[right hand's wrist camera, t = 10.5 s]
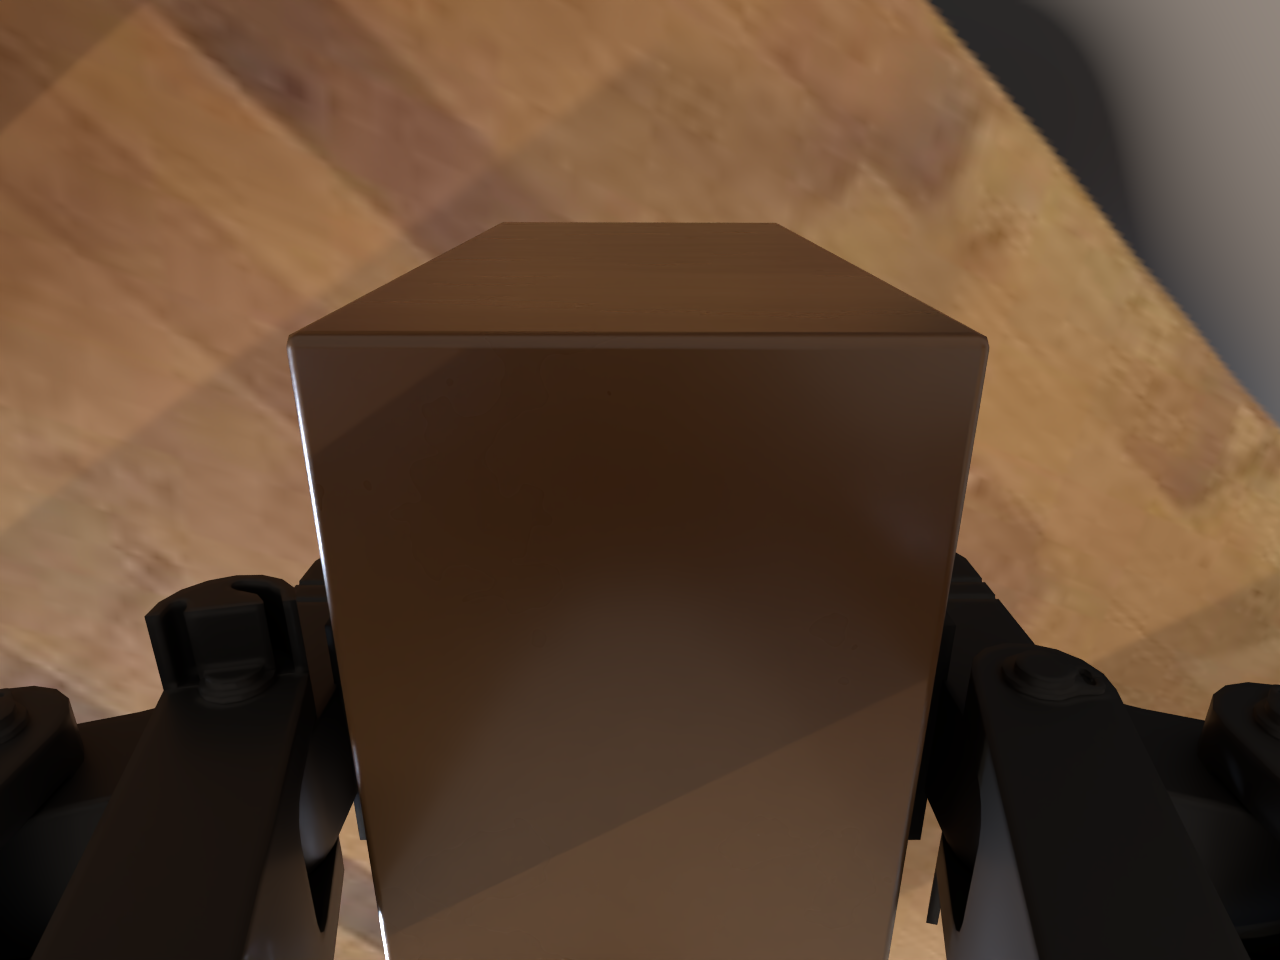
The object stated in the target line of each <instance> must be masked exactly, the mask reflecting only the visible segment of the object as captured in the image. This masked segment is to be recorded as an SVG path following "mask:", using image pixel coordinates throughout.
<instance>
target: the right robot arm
mask: <svg viewBox="0 0 1280 960" xmlns="http://www.w3.org/2000/svg"><path fill="white" fill-rule="evenodd" d="M145 620H146V624H147V628H148V632H149V636H150V640H151V643H152V647H153V651H154V655H155V659H156V663H157V666H158V670H159V674H160V678H161V682H162V686H163V689H164V691H163V693H162V695H161V697H160V699H159V701H158V703H157V705H156V707H155V708H154V709H150V710H146V711H142V712H137V713H132V714H127V715H122V716H117V717H111V718H106V719H101V720H96V721H91V722H85V723H80V724H77V723H76V720H75V717H74V714H73V710H72V707H71V704H70V701H69V698H68V697H66V696H65V695H64V694H62V693H61V692H60V691H58V690H57V689H52V688H45V687H38V686H29V687H19V688H4V689H0V960H334V952H335V943H336V935H337V927H338V918H339V910H340V902H341V893H342V885H343V877H344V865H343V858H342V852H341V846H340V841H339V833H340V831H341V829H342V826H343V824H344V822H345V820H346V817H347V815H348V813H349V810H350V808H351V806H352V804H353V801H354V806H355V812H356V818H357V824H358V830H359V836H360V840H366V834H365V827H364V821H363V815H362V809H361V803H360V797H359V790H358V784H357V778H356V772H355V766H354V760H353V754H352V747H351V741H350V735H349V729H348V723H347V717H346V710H345V704H344V698H343V692H342V686H341V680H340V674H339V667H338V661H337V655H336V649H335V643H334V637H333V631H332V624H331V618H330V612H329V606H328V600H327V594H326V587H325V581H324V575H323V569H322V563H321V558H320V559H318V560H316V561H315V562H314V563H313V565H312V566H311V567H310V568H309V570H308V571H307V572H306V573H305V575H304V576H303V577H302V578H301V580H300V581H299V585H296V586H295V587H292V586H291V585H290V584H288V583H287V582H286V581H284V580H283V579H279V578H274V577H270V576H265V575H236V576H231V577H225V578H220V579H214V580H209V581H206V582H203V583H200V584H197V585H194V586H191V587H188V588H185V589H182V590H180V591H178V592H176V593H175V594H173V595H171V596H169V597H167V598H166V599H164V600H162V601H160V602H159V603H158V604H157V605H156V606H155V607H154V608H153V609H152V610H151V611H150V612H149V613H148V614H147V615H146V616H145ZM927 798H928V801H929V803H930V805H931V807H932V809H933V812H934V814H935V816H936V818H937V821H938V823H939V825H940V827H941V830H942V835H941V841H940V846H939V852H938V857H937V863H936V868H935V874H934V880H933V885H932V891H931V896H930V902H929V908H928V914H927V921H926V923H930V924H936V925H937V923H938V918H939V913H940V908H941V916H942V925H943V933H944V941H945V950H946V958H947V960H1280V685H1270V684H1260V683H1250V682H1246V683H1239V684H1232V685H1225V686H1224V687H1223V688H1221V689H1220V690H1219V691H1217V692H1216V693H1215V694H1213V697H1212V700H1211V703H1210V706H1209V710H1208V713H1207V716H1206V719H1205V721H1204V720H1199V719H1194V718H1188V717H1183V716H1178V715H1173V714H1167V713H1162V712H1157V711H1152V710H1146V709H1141V708H1137V707H1133V706H1129V705H1125V704H1123V702H1122V700H1121V698H1120V696H1119V694H1118V692H1117V690H1116V688H1115V687H1114V686H1113V685H1112V684H1111V682H1110V681H1109V680H1108V679H1107V678H1106V676H1105V675H1104V674H1103V673H1101V672H1100V671H1098V670H1097V669H1095V668H1094V667H1092V666H1091V665H1089V664H1088V663H1086V662H1085V661H1083V660H1081V659H1079V658H1076V657H1074V656H1071V655H1069V654H1066V653H1064V652H1062V651H1059V650H1057V649H1052V648H1047V647H1043V646H1038V645H1035V644H1034V643H1033V642H1032V640H1031V639H1030V638H1029V637H1028V635H1027V634H1026V633H1025V632H1024V630H1023V629H1022V628H1021V627H1020V625H1019V624H1018V623H1017V622H1016V620H1015V619H1014V618H1013V617H1012V615H1011V614H1010V613H1009V612H1008V610H1007V609H1006V608H1005V607H1004V605H1003V604H1002V603H1001V602H1000V600H999V599H995V594H994V593H993V592H992V590H991V589H990V588H989V587H988V585H987V584H986V583H985V582H982V578H981V577H980V576H979V574H978V573H977V572H976V571H975V569H974V568H973V567H972V566H971V564H970V563H969V562H968V561H967V559H966V558H964V557H963V556H961V555H959V554H958V553H955V559H954V565H953V571H952V577H951V583H950V589H949V595H948V601H947V607H946V613H945V619H944V625H943V631H942V637H941V643H940V649H939V656H938V662H937V668H936V674H935V680H934V686H933V692H932V698H931V704H930V710H929V716H928V722H927V728H926V734H925V740H924V746H923V752H922V758H921V764H920V770H919V776H918V782H917V788H916V795H915V801H914V807H913V813H912V819H911V825H910V831H909V837H908V840H920V839H921V833H922V827H923V821H924V815H925V809H926V803H927Z"/></svg>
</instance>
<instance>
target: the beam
mask: <svg viewBox="0 0 1280 960" xmlns="http://www.w3.org/2000/svg"><path fill="white" fill-rule="evenodd" d="M988 353H989V344H988V340H987V337H986V336H984V335H982V334H980V333H978V332H977V331H975V330H973V329H971V328H969V327H967V326H966V325H964V324H962V323H960V322H958V321H956V320H954V319H953V318H951V317H949V316H947V315H945V314H943V313H942V312H940V311H938V310H936V309H934V308H932V307H930V306H929V305H927V304H925V303H923V302H921V301H919V300H918V299H916V298H914V297H912V296H910V295H908V294H906V293H905V292H903V291H901V290H899V289H897V288H895V287H894V286H892V285H890V284H888V283H886V282H884V281H882V280H881V279H879V278H877V277H875V276H873V275H871V274H870V273H868V272H866V271H864V270H862V269H860V268H858V267H857V266H855V265H853V264H851V263H849V262H847V261H846V260H844V259H842V258H840V257H838V256H836V255H834V254H833V253H831V252H829V251H827V250H825V249H823V248H822V247H820V246H818V245H816V244H814V243H812V242H810V241H809V240H807V239H805V238H803V237H801V236H799V235H798V234H796V233H794V232H792V231H790V230H788V229H786V228H785V227H783V226H781V225H779V224H777V223H565V222H503V223H501V224H498V225H497V226H495V227H493V228H491V229H489V230H487V231H485V232H483V233H481V234H480V235H478V236H476V237H474V238H472V239H470V240H468V241H466V242H464V243H463V244H461V245H459V246H457V247H455V248H453V249H451V250H449V251H447V252H446V253H444V254H442V255H440V256H438V257H436V258H434V259H432V260H430V261H429V262H427V263H425V264H423V265H421V266H419V267H417V268H415V269H413V270H411V271H410V272H408V273H406V274H404V275H402V276H400V277H398V278H396V279H394V280H393V281H391V282H389V283H387V284H385V285H383V286H381V287H379V288H377V289H376V290H374V291H372V292H370V293H368V294H366V295H364V296H362V297H360V298H359V299H357V300H355V301H353V302H351V303H349V304H347V305H345V306H343V307H342V308H340V309H338V310H336V311H334V312H332V313H330V314H328V315H326V316H325V317H323V318H321V319H319V320H317V321H315V322H313V323H311V324H309V325H307V326H306V327H304V328H302V329H300V330H298V331H296V332H294V333H292V334H290V335H289V337H288V341H287V354H288V360H289V366H290V372H291V378H292V384H293V391H294V397H295V403H296V409H297V415H298V421H299V427H300V434H301V440H302V446H303V452H304V458H305V464H306V471H307V477H308V483H309V489H310V495H311V501H312V507H313V514H314V520H315V526H316V532H317V538H318V544H319V551H320V557H321V563H322V569H323V575H324V581H325V587H326V594H327V600H328V606H329V612H330V618H331V624H332V631H333V637H334V643H335V649H336V655H337V661H338V667H339V674H340V680H341V686H342V692H343V698H344V704H345V710H346V717H347V723H348V729H349V735H350V741H351V747H352V754H353V760H354V766H355V772H356V778H357V784H358V790H359V797H360V803H361V809H362V815H363V821H364V827H365V834H366V840H367V846H368V852H369V858H370V864H371V870H372V877H373V883H374V889H375V895H376V901H377V907H378V914H379V920H380V926H381V932H382V938H383V944H384V950H385V957H386V960H888V958H889V952H890V946H891V940H892V934H893V928H894V921H895V915H896V909H897V903H898V897H899V891H900V885H901V879H902V873H903V867H904V861H905V855H906V849H907V843H908V837H909V831H910V825H911V819H912V813H913V807H914V801H915V795H916V788H917V782H918V776H919V770H920V764H921V758H922V752H923V746H924V740H925V734H926V728H927V722H928V716H929V710H930V704H931V698H932V692H933V686H934V680H935V674H936V668H937V662H938V656H939V649H940V643H941V637H942V631H943V625H944V619H945V613H946V607H947V601H948V595H949V589H950V583H951V577H952V571H953V565H954V559H955V553H956V547H957V541H958V535H959V529H960V523H961V516H962V510H963V504H964V498H965V492H966V486H967V480H968V474H969V468H970V462H971V456H972V450H973V444H974V438H975V432H976V426H977V420H978V414H979V408H980V402H981V396H982V390H983V384H984V377H985V371H986V365H987V359H988Z"/></svg>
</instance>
